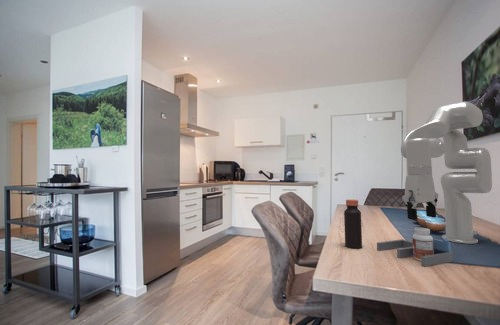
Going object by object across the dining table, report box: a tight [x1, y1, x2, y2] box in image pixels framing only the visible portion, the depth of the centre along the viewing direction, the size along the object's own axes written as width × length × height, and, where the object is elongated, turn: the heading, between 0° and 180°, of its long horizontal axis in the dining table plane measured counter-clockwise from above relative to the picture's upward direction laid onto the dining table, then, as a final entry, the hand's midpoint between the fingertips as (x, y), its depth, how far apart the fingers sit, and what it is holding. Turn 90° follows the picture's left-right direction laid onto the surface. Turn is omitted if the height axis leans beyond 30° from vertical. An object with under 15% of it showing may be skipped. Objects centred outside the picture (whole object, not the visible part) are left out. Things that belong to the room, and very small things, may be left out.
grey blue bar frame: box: [376, 237, 454, 268], centre depth 93 cm, size 14×20×8 cm
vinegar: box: [343, 199, 363, 250], centre depth 105 cm, size 7×7×20 cm
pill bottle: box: [411, 227, 434, 262], centre depth 88 cm, size 6×6×11 cm
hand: (422, 218), depth 89 cm, fingers open, 9 cm apart
